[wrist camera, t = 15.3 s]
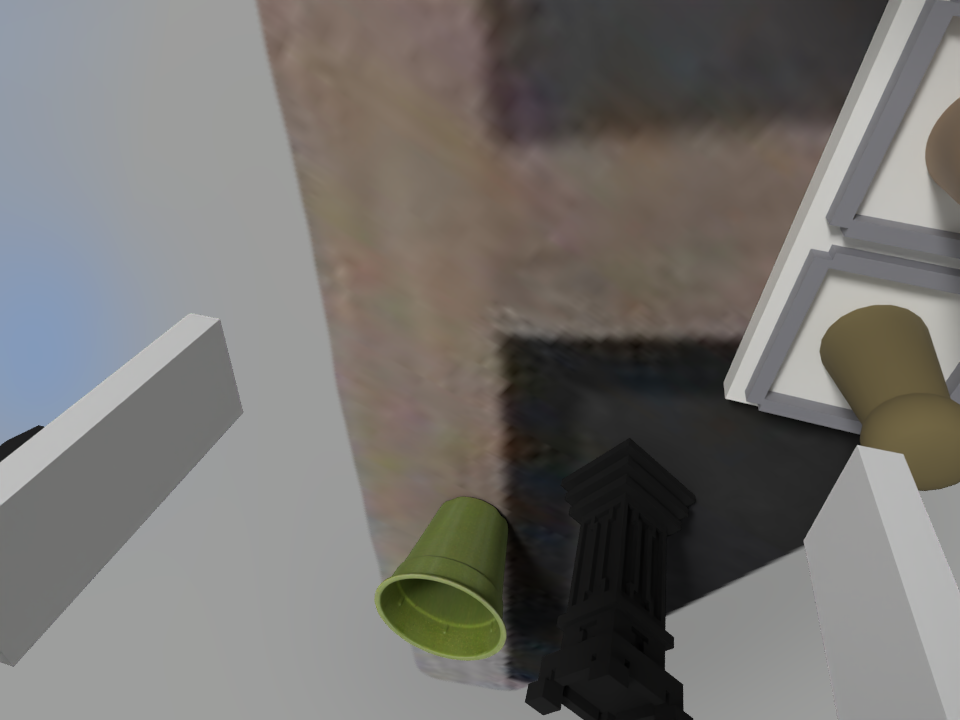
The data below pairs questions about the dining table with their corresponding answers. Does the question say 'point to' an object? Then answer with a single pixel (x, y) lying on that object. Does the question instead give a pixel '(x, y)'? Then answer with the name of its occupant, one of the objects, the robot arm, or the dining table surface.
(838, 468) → the dining table surface
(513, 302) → the dining table surface
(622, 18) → the dining table surface
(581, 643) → the chess piece
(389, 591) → the plant pot
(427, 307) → the dining table surface
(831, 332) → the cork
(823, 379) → the pin board
